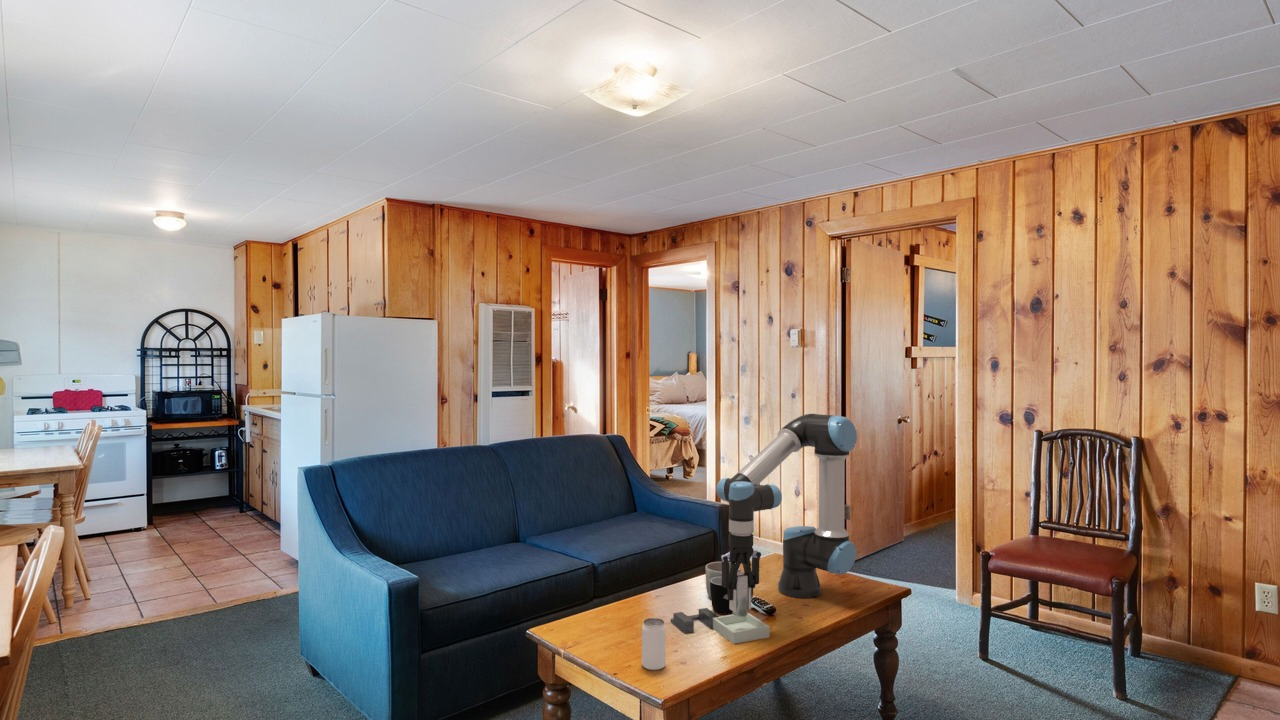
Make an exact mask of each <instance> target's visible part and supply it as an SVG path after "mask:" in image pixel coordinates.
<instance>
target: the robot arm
mask: <svg viewBox="0 0 1280 720" xmlns="http://www.w3.org/2000/svg"><path fill="white" fill-rule="evenodd" d="M857 436H858V434H857V429H856V427H855V425H854V423H853V422H852V421H851V419H849V418H848V417H846V416H841V415H837V414H835V415H834V414H833V415H832V414H820V413H819V414H817V413H806V414H803V415H800V416H798V417H797V418H795V419H792V420H791V421H790V422H788V423H787V424H786V425H784V426H783V427H782V428H781V429H780V430H778V432H777V436H776V437H774V439H773V440H771V442H770V443H768V444H767V446H765V447H764V448H763V449H761V450H760V452H759V453H758V454H756V455H755V456H754V457H753V458H752V459H751V460H750V461H749V462H747V464H746V465H744V467H742V468H741V469H740V470H739V471H738V472H737V473H736V474H735V475H733V476H732V477H731V478H729V477H727V478H726V477H724V478H721V479H720V480H719V481H718V483H717V484H716V490H715V491H716V495H717V497H718V498H719V499H720V500H721V501H724V502H727V503H728V532H729V533H728V547H729V548H728V550H727V553H725V554H720V556H719V559H720V562H722V586H723V587H725V588H726V589H728V596H727V597H728V599H729V600H730V604H729V609H730V610H732V611H734V612H736V590H735V589H734V587H735V582H736V577H737V572H738V568H739V567H741V565H742V568H743V573H746V574H748V610H751V609H752V598H753V597H754V588H756V585H759V584H760V559H761V557H762V553H761V552H759V551H758V550H755V549H754V548H753V546H754V534H753V533H754V532H755V531H754V526H755V525H754V522H755V521H754V514H755V513H756V512H760V511H766V510H772V509H775V508H778V507H779V506H780V505H781V503H782V500H783V499H782V498H783V495H782V491H781V490H780V488H779V487H778V486H777V485H775V484H769V483H766V484H761V483H762V482H763V481H764V480H765V479H766V478H767V477H768V476H769V475H770V474H771V473H772V472H774V470H775V469H777V467H778V466H780V465H781V464H782V463H783V462H784V461H785V460H786V459H787V458H788V457H789V456H790V455H792V453H797V452H799V451H800V450H801V449H802V448H806V447H812V448H814V455H815V456H816V457H817V459H818V527H817V528H816V527H814V526H809V525H808V526H807V525H798V526H790V527H788V528H785V530H784V531H783V539H782V561H783V562H782V571H781V574H780V577H779V581H778V583H777V588H778V589H777V590H778V592H779V593H781V594H782V595H784V596H788V597H793V598H799V599H810V598H815V597H818V596H820V595H821V594H822V586H821V583H820V580H819V577H818V573H817V569H818V570H821V571H824V572H828V573H830V574H837V575H844V574H846V573H848V572H849V571H850V570H851V569H852V567H853V566H854V563H855V561H856V558H857V547H856V545H855V544H854V543H853V542H852V541H851V540H850V533H849V532H848V531H847V530H846V528H845V495H846V493H845V492H846V491H845V481H846V480H845V474H846V471H845V467H846V466H845V463H846V462H845V461H846V459H847V458H848V457H849V456H850V451H852V450H854V449H855V446H856V444H857V439H858V437H857ZM729 562H730V564H731V568H730V573H729Z"/></svg>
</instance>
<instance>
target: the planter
mask: <svg viewBox="0 0 1280 720" xmlns="http://www.w3.org/2000/svg"><path fill="white" fill-rule="evenodd" d="M730 563H731V561H729V573H730V568H731V564H730ZM738 572H742V567H741V566H740V567H739V568H738ZM714 577H722V561H713V562H709V563H707V564H706V565H705V587H706V593H707V596H708V597H709V598H710V599H711V593H710V580H711V579H712V578H714Z"/></svg>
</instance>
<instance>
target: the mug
mask: <svg viewBox="0 0 1280 720" xmlns="http://www.w3.org/2000/svg"><path fill="white" fill-rule="evenodd" d="M710 593H711V598H710V601H711V606H712V610H713V612H714V613H715V614H717V615H732V614H733V611H732V610H730V609H729V604H730V600H729V599H728V597H727V596H728V589H726V588H725V587H723V586H722V577H714V578H712V579H711V580H710Z"/></svg>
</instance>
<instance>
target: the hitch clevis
mask: <svg viewBox="0 0 1280 720" xmlns="http://www.w3.org/2000/svg"><path fill="white" fill-rule="evenodd" d="M697 611H698V613H697V614H693V615H687V614H685V613H684V612H683V611H680V612H679V611H678V612H673V616H672V617H673V618H670V623H671V624H672V625H674V626H675V627H676V628H677V629H679V630H680V631H681V632H682V633H684V634H689V633H694V631H695V630H694V629H695V627H694V626H695V624H694V623H695V622H696V621H699V622H700V623H702V624H703V625H705V626H706V628H707V627H708V629H710V630H714V629H713V618H717V617H720V615H719V614H717V613H716V612H714V611H712V610H710V609H709V608H707V607H705V608H704V607H703V608H698V610H697Z"/></svg>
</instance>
